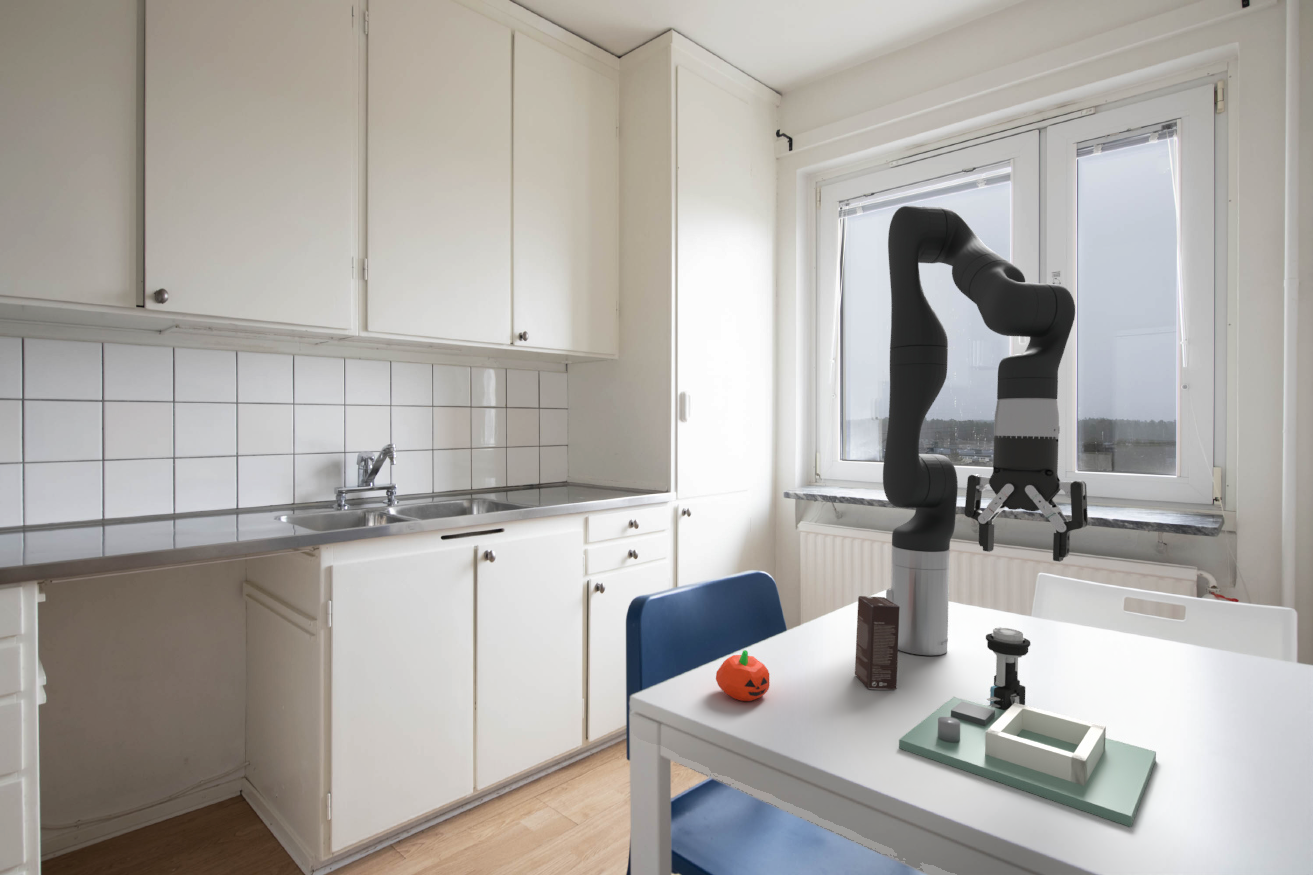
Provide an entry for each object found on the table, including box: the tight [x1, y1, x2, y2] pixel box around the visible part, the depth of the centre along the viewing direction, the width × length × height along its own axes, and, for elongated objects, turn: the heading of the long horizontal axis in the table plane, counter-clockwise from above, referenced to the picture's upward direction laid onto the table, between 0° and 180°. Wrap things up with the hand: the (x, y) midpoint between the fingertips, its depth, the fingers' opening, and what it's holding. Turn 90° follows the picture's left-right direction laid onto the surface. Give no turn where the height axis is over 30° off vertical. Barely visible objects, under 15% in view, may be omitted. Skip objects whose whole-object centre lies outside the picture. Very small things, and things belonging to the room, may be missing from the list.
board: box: [898, 696, 1157, 828], centre depth 76 cm, size 22×18×4 cm
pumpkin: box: [715, 649, 770, 702], centre depth 92 cm, size 7×8×6 cm
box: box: [854, 595, 900, 691], centre depth 98 cm, size 6×4×12 cm
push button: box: [985, 627, 1031, 711], centre depth 90 cm, size 7×5×10 cm
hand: (1022, 555), depth 89 cm, fingers open, 8 cm apart
